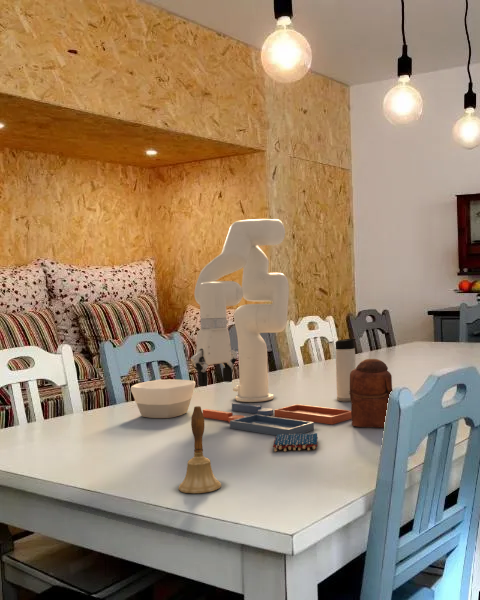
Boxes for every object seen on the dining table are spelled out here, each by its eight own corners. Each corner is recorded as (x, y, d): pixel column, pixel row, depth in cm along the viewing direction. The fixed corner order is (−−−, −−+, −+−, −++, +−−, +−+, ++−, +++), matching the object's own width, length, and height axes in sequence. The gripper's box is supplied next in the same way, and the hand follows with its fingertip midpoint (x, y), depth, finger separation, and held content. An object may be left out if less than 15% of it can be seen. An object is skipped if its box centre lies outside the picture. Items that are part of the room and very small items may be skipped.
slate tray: (229, 428, 196) (229, 420, 196) (255, 421, 204) (255, 414, 204) (288, 437, 183) (288, 429, 183) (314, 429, 190) (313, 422, 190)
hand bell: (180, 482, 146) (177, 404, 145) (221, 480, 146) (218, 402, 146) (176, 495, 138) (173, 412, 137) (220, 492, 138) (217, 409, 138)
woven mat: (275, 441, 179) (274, 433, 179) (318, 440, 178) (317, 432, 178) (272, 452, 168) (271, 443, 168) (317, 450, 168) (317, 442, 168)
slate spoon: (228, 411, 221) (228, 404, 221) (239, 408, 224) (238, 401, 224) (265, 416, 211) (265, 409, 211) (276, 413, 214) (276, 406, 214)
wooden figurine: (396, 423, 194) (394, 357, 194) (392, 429, 188) (390, 360, 187) (352, 422, 197) (350, 357, 197) (348, 428, 191) (346, 360, 191)
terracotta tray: (274, 416, 210) (274, 409, 210) (297, 410, 218) (296, 404, 218) (332, 424, 196) (331, 417, 196) (354, 417, 204) (354, 410, 204)
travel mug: (356, 401, 229) (354, 338, 228) (335, 401, 230) (333, 339, 230) (358, 398, 235) (356, 337, 234) (338, 398, 237) (336, 337, 236)
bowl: (205, 410, 223) (204, 380, 223) (172, 422, 207) (170, 389, 207) (158, 407, 231) (156, 378, 230) (122, 418, 215) (120, 387, 214)
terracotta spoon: (198, 418, 212) (198, 410, 211) (210, 415, 215) (210, 408, 215) (236, 423, 201) (236, 416, 201) (248, 421, 205) (247, 413, 205)
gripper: (226, 322, 218) (228, 379, 218) (182, 326, 204) (184, 386, 205) (244, 323, 213) (245, 381, 213) (199, 326, 200) (201, 388, 200)
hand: (215, 383), depth 209 cm, fingers open, 9 cm apart
